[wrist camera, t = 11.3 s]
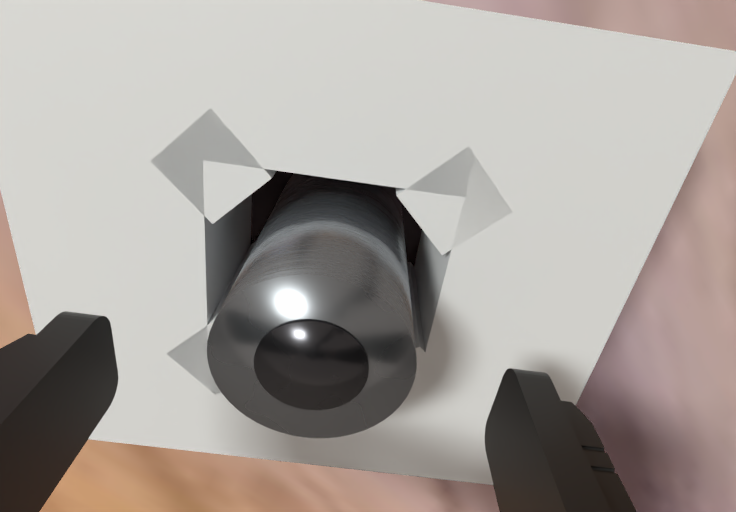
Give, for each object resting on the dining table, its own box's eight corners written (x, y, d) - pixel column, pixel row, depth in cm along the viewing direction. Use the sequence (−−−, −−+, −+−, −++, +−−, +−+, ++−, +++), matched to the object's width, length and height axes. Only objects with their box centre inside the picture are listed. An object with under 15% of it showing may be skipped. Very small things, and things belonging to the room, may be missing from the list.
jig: (630, 37, 14) (746, 52, 10) (501, 385, 21) (534, 489, 16) (83, -51, 13) (-66, -78, 9) (131, 340, 20) (60, 436, 15)
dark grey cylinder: (412, 164, 16) (437, 294, 9) (391, 274, 18) (397, 451, 11) (283, 145, 16) (201, 263, 9) (277, 259, 18) (207, 429, 11)
